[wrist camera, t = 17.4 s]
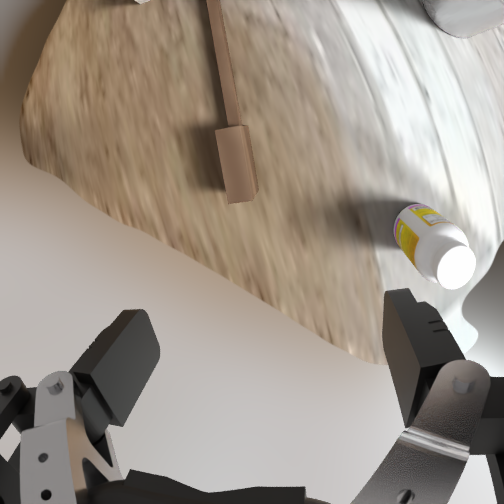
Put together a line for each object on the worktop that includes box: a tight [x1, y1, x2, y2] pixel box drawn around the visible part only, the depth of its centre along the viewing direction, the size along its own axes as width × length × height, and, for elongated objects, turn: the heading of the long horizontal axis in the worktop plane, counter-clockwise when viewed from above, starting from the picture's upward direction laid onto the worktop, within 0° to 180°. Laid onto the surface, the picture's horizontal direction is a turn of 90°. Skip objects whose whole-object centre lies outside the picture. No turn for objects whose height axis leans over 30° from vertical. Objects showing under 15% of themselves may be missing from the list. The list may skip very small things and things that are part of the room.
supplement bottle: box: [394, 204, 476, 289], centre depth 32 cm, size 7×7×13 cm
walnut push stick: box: [206, 0, 259, 204], centre depth 31 cm, size 7×29×6 cm, turn 9°
